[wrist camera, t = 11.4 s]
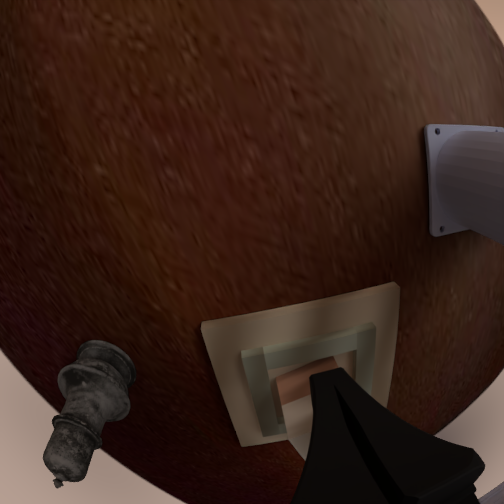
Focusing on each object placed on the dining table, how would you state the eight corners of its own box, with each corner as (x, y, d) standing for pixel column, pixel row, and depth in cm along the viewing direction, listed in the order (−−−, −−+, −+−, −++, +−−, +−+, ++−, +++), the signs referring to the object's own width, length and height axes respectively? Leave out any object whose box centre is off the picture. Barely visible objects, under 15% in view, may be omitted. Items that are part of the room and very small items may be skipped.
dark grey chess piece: (126, 401, 23) (94, 517, 11) (68, 369, 21) (13, 475, 10) (150, 361, 21) (114, 498, 10) (83, 323, 20) (10, 443, 9)
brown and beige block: (331, 353, 21) (359, 411, 15) (346, 388, 22) (370, 442, 17) (275, 377, 21) (288, 439, 16) (295, 409, 23) (310, 466, 17)
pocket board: (393, 281, 21) (405, 292, 19) (381, 406, 25) (388, 418, 24) (201, 321, 20) (200, 336, 19) (241, 438, 25) (242, 453, 23)
